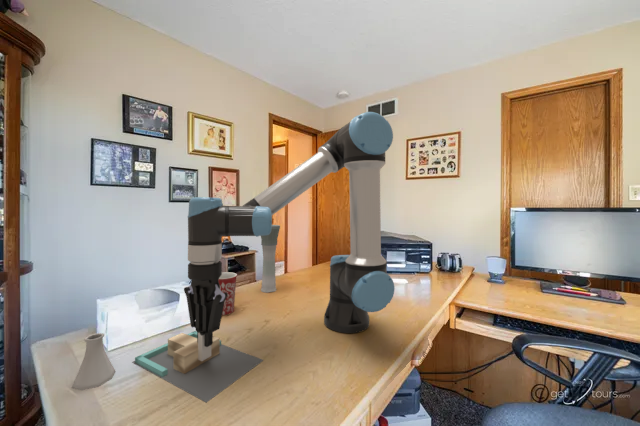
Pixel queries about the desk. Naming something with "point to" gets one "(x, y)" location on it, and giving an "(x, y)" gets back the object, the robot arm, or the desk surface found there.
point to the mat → (200, 370)
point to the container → (269, 260)
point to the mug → (228, 290)
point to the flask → (94, 365)
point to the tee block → (188, 352)
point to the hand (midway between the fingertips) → (204, 357)
